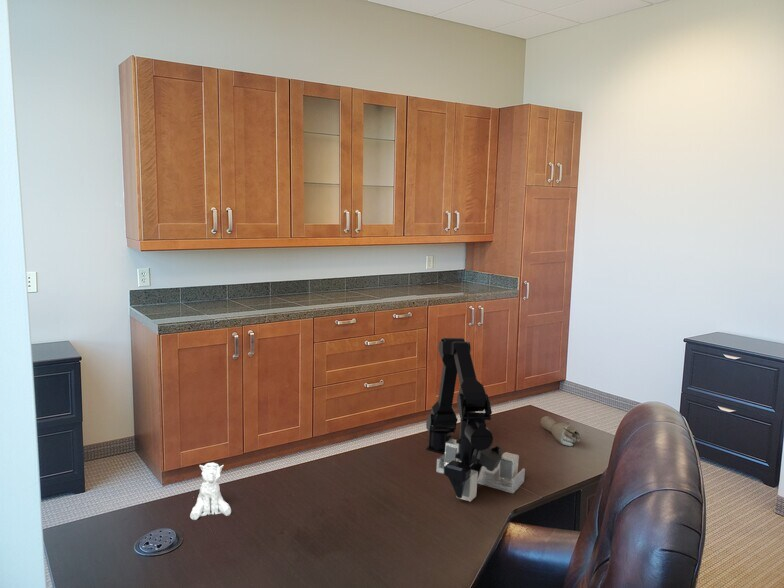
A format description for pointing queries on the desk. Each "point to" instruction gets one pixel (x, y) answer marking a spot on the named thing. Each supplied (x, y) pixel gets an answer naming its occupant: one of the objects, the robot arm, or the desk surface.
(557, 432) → the mannequin hand
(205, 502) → the seated beast figurine
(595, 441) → the desk surface
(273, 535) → the desk surface
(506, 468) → the white slotted block stand
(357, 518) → the desk surface
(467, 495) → the white rectangular block
